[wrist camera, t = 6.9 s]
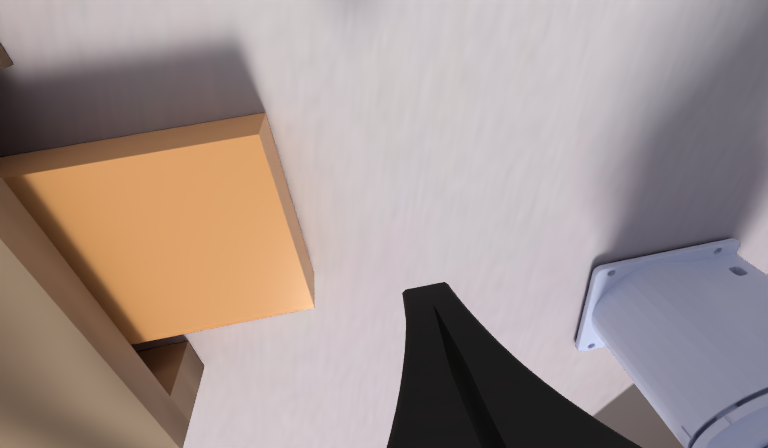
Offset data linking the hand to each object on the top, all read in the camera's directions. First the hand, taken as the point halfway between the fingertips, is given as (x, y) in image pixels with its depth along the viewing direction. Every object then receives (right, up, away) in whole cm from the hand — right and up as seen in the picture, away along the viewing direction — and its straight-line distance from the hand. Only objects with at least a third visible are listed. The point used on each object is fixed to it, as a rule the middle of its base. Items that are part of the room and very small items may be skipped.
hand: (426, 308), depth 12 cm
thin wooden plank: (-12, +2, +6) cm, 14 cm away
